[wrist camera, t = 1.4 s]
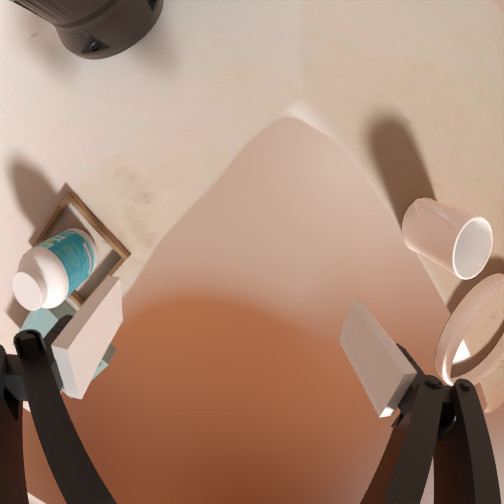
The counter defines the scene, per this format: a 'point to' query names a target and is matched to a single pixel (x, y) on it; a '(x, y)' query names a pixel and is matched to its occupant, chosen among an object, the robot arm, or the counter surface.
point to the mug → (448, 236)
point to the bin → (47, 319)
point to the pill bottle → (54, 269)
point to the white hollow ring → (451, 340)
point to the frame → (96, 225)
